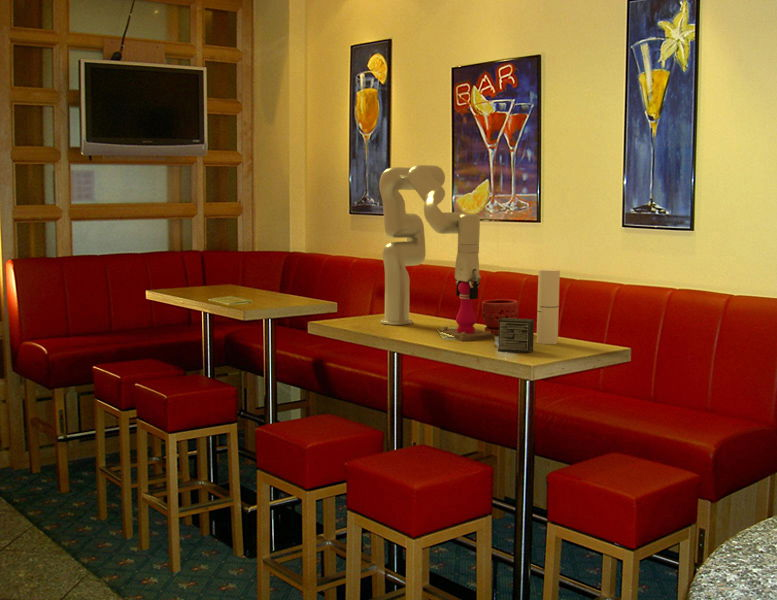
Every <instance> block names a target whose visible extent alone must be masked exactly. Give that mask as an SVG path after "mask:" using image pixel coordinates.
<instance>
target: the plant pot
mask: <svg viewBox="0 0 777 600" xmlns="http://www.w3.org/2000/svg"><path fill="white" fill-rule="evenodd" d="M481 312H482V313H481V314H482V318H483V322H484V324H485V327H484V332H487V331H491V334H494V335H495V336H499V319H502V318H516V319H518V315H519V302H518V300H515V299H501V298H500V299H487V300H482V302H481ZM502 313H503V314H502Z"/></svg>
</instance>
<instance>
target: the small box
mask: <svg viewBox="0 0 777 600" xmlns="http://www.w3.org/2000/svg"><path fill="white" fill-rule="evenodd" d="M534 324H535V319H533V318H532V319H531V318H517V319H516V318H502V319H499V335H498V345H497V346H498V348H497V351H498V352H505V353H520V354H521V353H522V354H530V353H532V352H534V335H535V334H534V332H535V331H534V330H535V328H534V327H535V325H534Z"/></svg>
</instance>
